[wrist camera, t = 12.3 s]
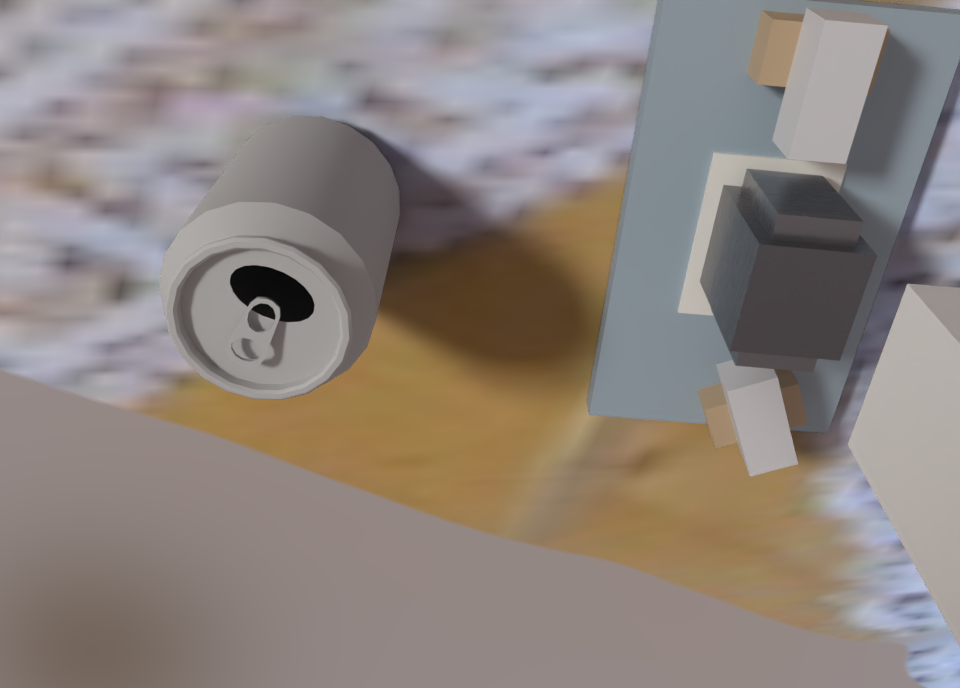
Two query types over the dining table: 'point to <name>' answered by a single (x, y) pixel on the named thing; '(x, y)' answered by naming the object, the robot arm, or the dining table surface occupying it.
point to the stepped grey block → (785, 270)
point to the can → (284, 260)
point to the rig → (723, 161)
